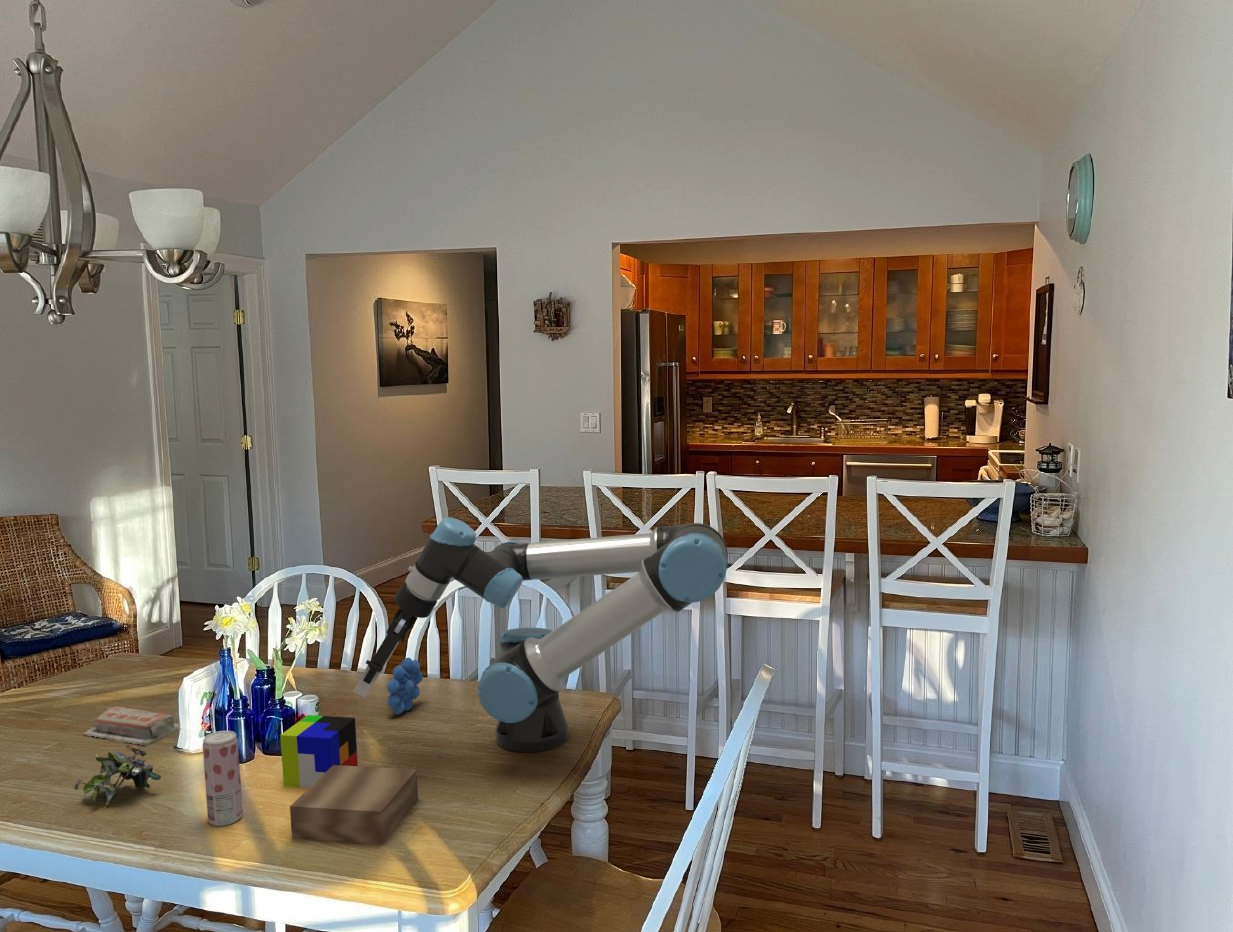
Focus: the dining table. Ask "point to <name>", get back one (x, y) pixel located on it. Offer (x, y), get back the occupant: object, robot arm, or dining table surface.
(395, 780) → the walnut block
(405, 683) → the grapes
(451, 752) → the dining table surface
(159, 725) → the packaged product
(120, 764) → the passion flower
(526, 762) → the dining table surface
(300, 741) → the puzzle toy
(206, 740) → the beverage can
